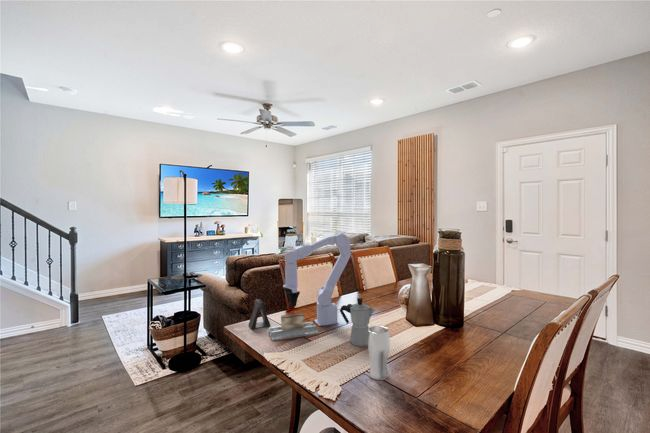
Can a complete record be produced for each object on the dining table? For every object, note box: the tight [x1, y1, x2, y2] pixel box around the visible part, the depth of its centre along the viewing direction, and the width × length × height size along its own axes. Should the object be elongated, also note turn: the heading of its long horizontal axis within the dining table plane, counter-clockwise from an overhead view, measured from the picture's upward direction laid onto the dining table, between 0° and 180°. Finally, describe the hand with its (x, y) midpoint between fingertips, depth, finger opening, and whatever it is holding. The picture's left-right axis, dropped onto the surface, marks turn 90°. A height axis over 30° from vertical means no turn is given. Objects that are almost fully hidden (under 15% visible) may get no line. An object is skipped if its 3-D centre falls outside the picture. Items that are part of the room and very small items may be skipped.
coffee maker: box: [339, 297, 376, 348], centre depth 122 cm, size 15×9×18 cm, turn 71°
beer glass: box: [367, 325, 390, 381], centre depth 98 cm, size 7×7×15 cm
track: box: [268, 321, 319, 342], centre depth 132 cm, size 20×10×3 cm, turn 109°
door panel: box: [280, 312, 306, 330], centre depth 132 cm, size 10×2×7 cm, turn 108°
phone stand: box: [248, 298, 272, 330], centre depth 141 cm, size 9×6×12 cm, turn 116°
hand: (291, 304), depth 143 cm, fingers open, 7 cm apart
